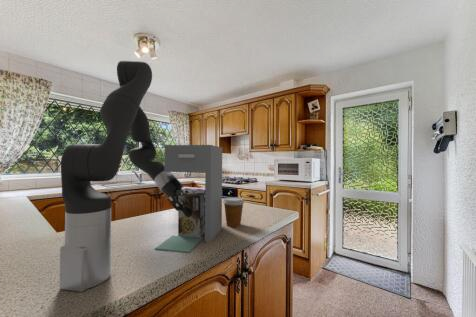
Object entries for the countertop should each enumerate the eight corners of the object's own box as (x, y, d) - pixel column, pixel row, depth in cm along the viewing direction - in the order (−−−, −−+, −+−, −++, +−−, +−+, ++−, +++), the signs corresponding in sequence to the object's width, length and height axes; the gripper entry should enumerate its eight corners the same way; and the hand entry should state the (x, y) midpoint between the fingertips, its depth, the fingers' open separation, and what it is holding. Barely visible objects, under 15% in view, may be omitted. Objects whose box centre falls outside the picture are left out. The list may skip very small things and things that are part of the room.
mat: (189, 252, 67) (189, 251, 67) (154, 249, 69) (154, 248, 69) (202, 238, 79) (202, 237, 79) (172, 236, 81) (172, 235, 81)
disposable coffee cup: (219, 227, 93) (220, 199, 93) (227, 221, 102) (227, 196, 102) (240, 229, 90) (240, 201, 90) (246, 223, 99) (246, 197, 99)
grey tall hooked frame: (209, 243, 74) (210, 144, 74) (162, 240, 77) (163, 144, 78) (221, 228, 91) (222, 147, 91) (182, 225, 94) (183, 147, 94)
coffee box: (204, 231, 87) (205, 192, 87) (200, 237, 80) (200, 195, 80) (183, 231, 87) (183, 192, 88) (177, 236, 81) (177, 194, 81)
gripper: (165, 178, 78) (194, 211, 76) (182, 176, 92) (207, 203, 90) (152, 192, 79) (180, 224, 77) (170, 187, 93) (195, 215, 91)
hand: (194, 213), depth 84 cm, fingers open, 8 cm apart
